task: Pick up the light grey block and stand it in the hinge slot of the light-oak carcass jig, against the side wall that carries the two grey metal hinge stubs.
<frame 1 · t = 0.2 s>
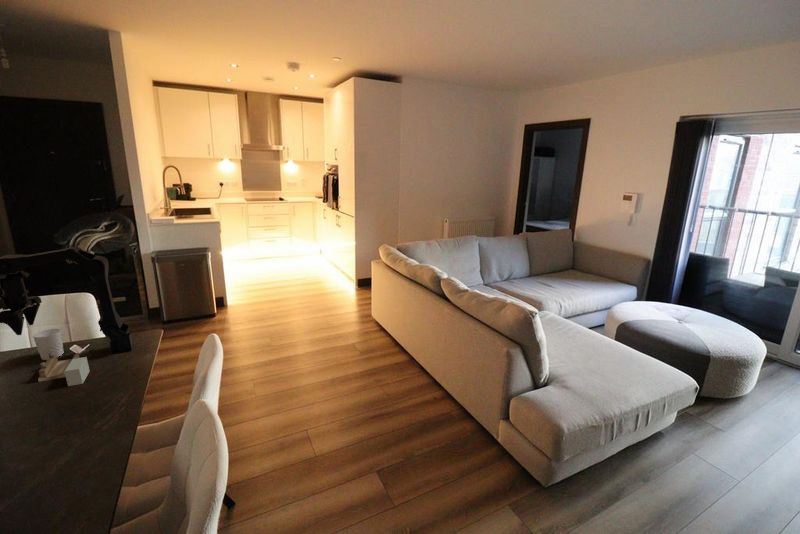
hand: (25, 329, 138), 14 cm above the table, fingers open, 9 cm apart
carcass: (62, 370, 138), on the table
light grey block: (79, 378, 134), on the table
white cup: (52, 356, 148), on the table
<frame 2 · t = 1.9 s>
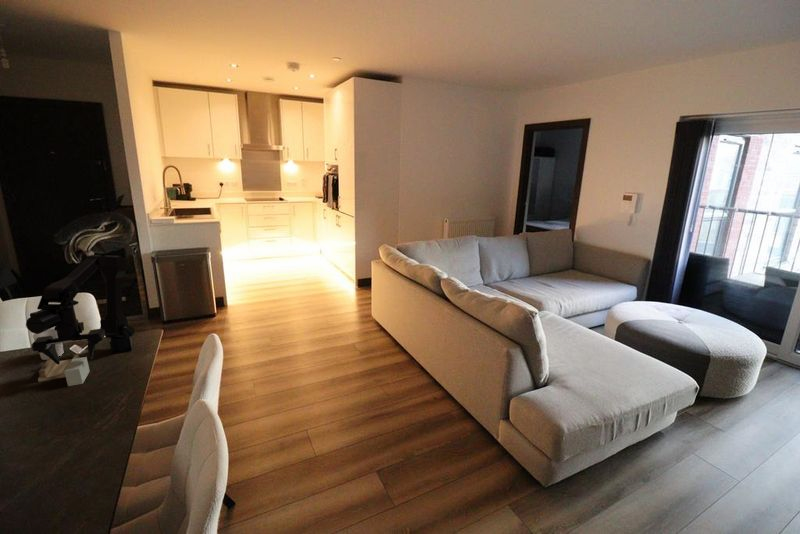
hand: (75, 361, 132), 7 cm above the table, fingers open, 9 cm apart
nothing on the table moved.
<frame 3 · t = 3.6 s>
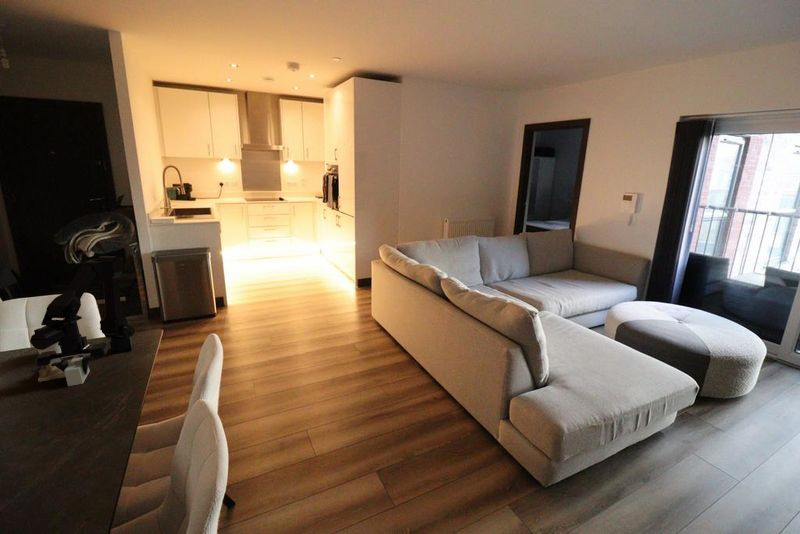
hand: (78, 375, 133), 1 cm above the table, fingers closed on light grey block, 4 cm apart
light grey block: (79, 378, 134), on the table, touching gripper
everything else where it was.
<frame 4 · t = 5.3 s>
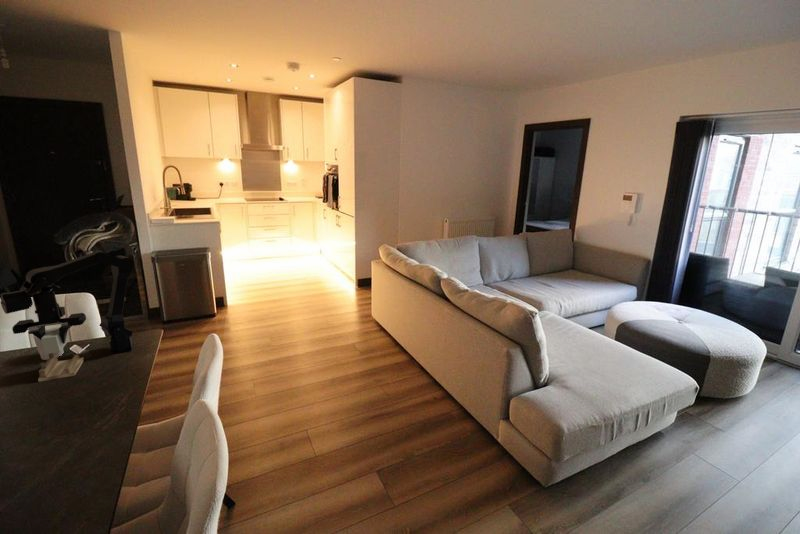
hand: (56, 344, 135), 11 cm above the table, fingers closed on light grey block, 4 cm apart
light grey block: (57, 347, 136), point 9 cm above the table, touching gripper
everything else where it was.
when the fingers open (4 cm above the table, at t = 7.1 s): light grey block drops 2 cm, resting on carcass.
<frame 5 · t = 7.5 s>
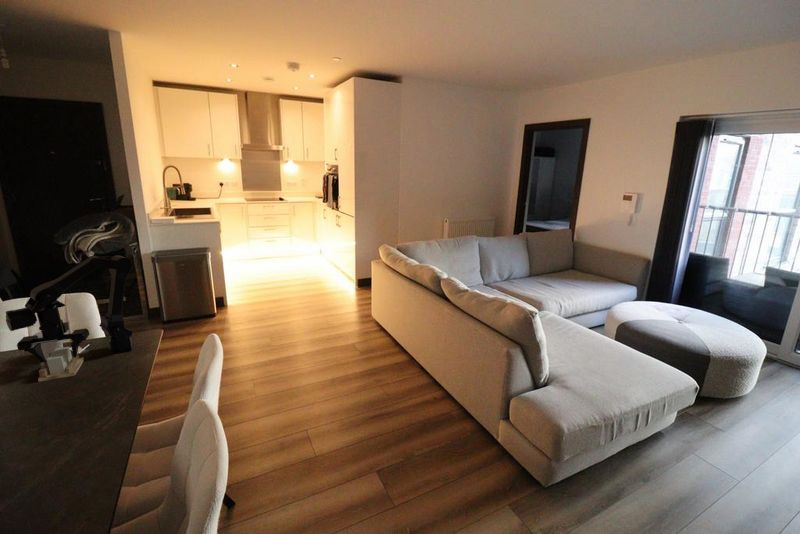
hand: (60, 359, 137), 4 cm above the table, fingers open, 9 cm apart
light grey block: (62, 367, 138), point 1 cm above the table, touching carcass
everything else where it was.
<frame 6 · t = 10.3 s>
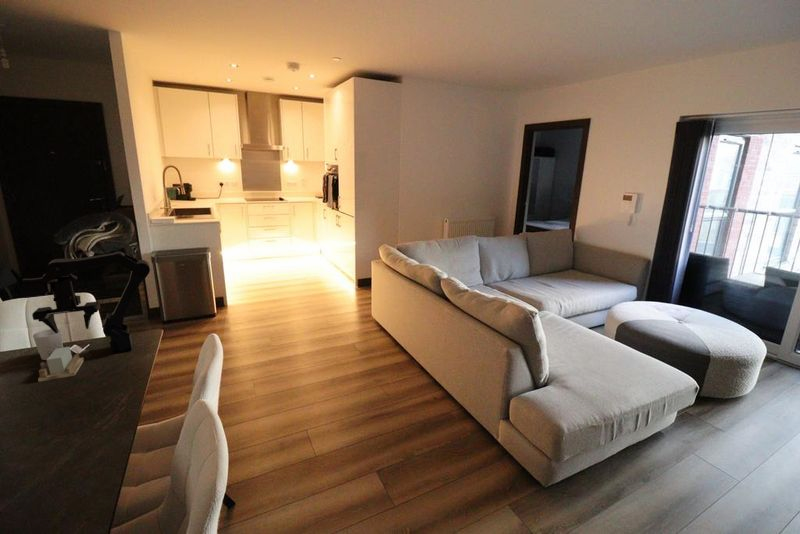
hand: (72, 330, 143), 12 cm above the table, fingers open, 9 cm apart
nothing on the table moved.
at the end: light grey block inside the target area on the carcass (0.1 cm from its centre), point 1.2 cm above the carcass's base; light grey block tilted 0°; the gripper is holding nothing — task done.
